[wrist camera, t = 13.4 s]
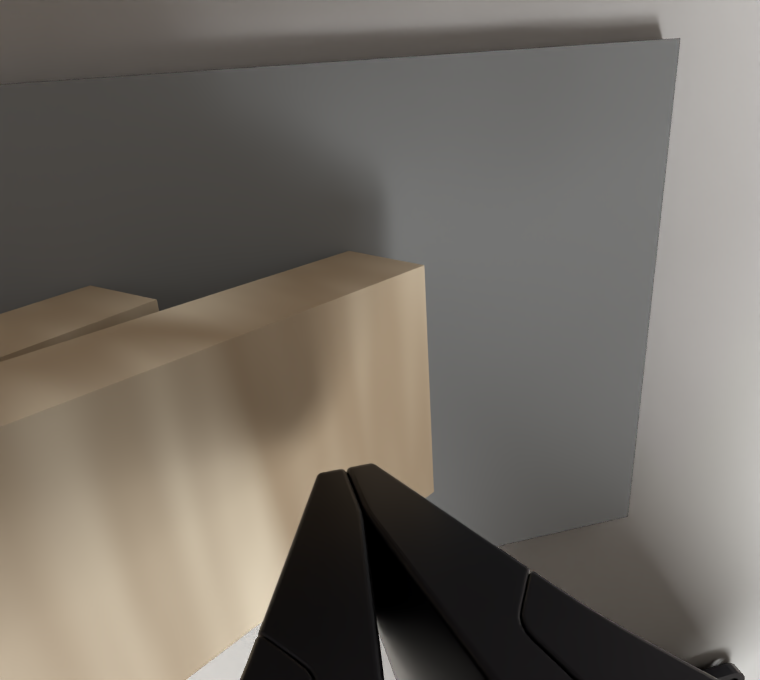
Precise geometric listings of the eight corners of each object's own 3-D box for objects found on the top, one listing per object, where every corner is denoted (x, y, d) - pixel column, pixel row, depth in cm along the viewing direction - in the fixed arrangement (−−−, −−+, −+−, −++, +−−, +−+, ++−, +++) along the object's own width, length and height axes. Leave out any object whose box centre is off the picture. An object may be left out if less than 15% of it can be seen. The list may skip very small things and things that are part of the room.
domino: (424, 264, 11) (-105, 466, 6) (433, 492, 13) (40, 789, 8) (348, 250, 12) (-138, 406, 7) (368, 458, 14) (-7, 696, 9)
